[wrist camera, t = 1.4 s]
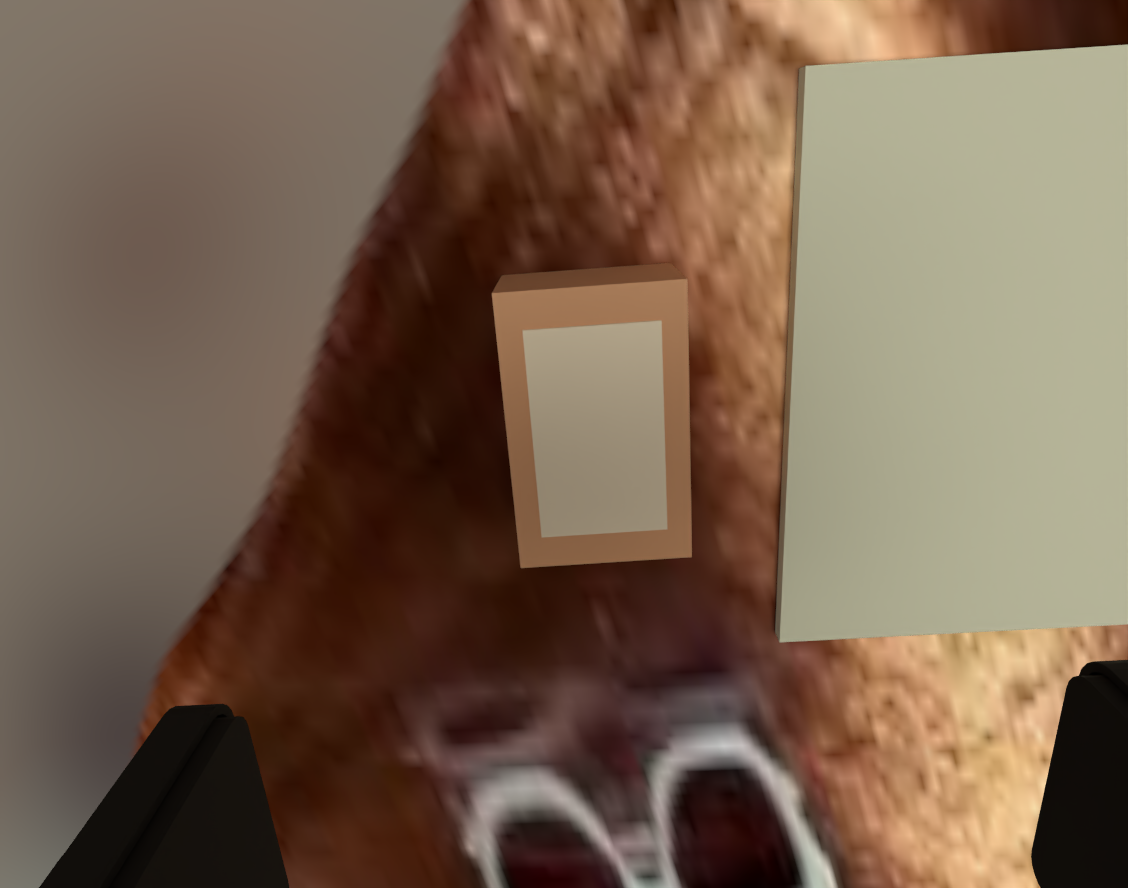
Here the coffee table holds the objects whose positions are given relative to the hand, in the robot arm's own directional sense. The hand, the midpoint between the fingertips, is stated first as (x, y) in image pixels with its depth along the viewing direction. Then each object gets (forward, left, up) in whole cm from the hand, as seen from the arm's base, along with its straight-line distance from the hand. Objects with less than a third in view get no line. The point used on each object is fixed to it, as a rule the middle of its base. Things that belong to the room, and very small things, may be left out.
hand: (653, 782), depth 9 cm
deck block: (0, 0, -16) cm, 16 cm away
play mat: (0, -14, -16) cm, 21 cm away
